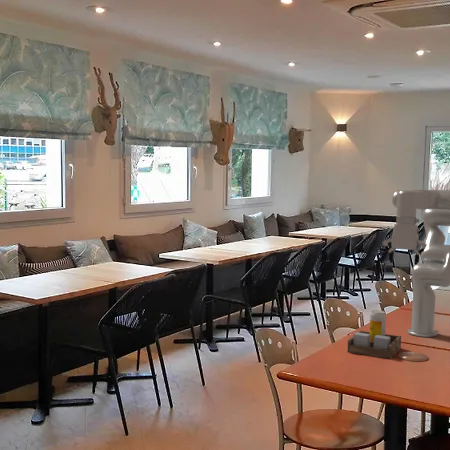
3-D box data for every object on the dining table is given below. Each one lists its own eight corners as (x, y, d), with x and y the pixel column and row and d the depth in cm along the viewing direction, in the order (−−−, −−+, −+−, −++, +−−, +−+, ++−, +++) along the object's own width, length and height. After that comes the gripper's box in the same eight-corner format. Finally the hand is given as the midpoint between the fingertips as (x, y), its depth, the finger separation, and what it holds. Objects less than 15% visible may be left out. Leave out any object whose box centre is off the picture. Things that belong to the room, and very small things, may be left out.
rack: (359, 342, 261) (360, 330, 261) (400, 348, 253) (401, 336, 253) (347, 352, 247) (347, 339, 246) (390, 358, 239) (391, 345, 238)
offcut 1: (356, 349, 251) (356, 332, 250) (369, 351, 248) (370, 334, 248) (353, 351, 248) (353, 334, 247) (366, 353, 245) (367, 336, 244)
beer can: (373, 345, 257) (374, 309, 256) (386, 348, 254) (388, 311, 252) (366, 348, 253) (367, 311, 251) (380, 351, 249) (381, 314, 248)
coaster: (401, 351, 248) (401, 350, 248) (430, 355, 243) (430, 354, 243) (395, 358, 239) (395, 357, 239) (424, 363, 234) (424, 361, 233)
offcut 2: (375, 352, 247) (376, 334, 247) (389, 354, 245) (390, 336, 244) (373, 354, 244) (373, 337, 243) (387, 356, 241) (388, 339, 241)
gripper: (429, 222, 251) (427, 264, 252) (386, 220, 259) (384, 261, 260) (426, 222, 244) (424, 266, 245) (382, 220, 252) (380, 262, 253)
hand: (403, 263), depth 252 cm, fingers open, 9 cm apart
